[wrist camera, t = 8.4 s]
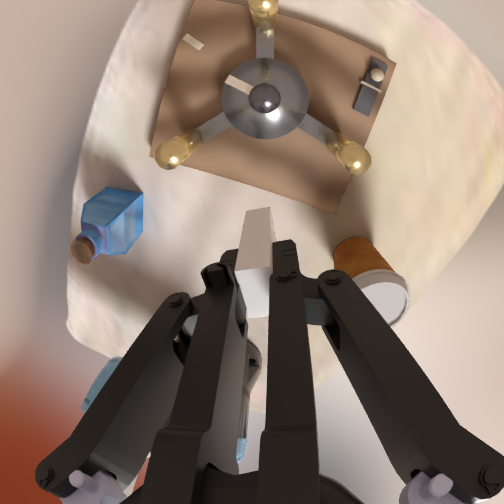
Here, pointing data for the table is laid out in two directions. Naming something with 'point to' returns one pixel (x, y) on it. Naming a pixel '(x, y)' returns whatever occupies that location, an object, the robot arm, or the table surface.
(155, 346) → the robot arm
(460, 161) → the table surface
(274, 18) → the capstan
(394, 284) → the disposable coffee cup
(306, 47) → the stand
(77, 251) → the perfume bottle
